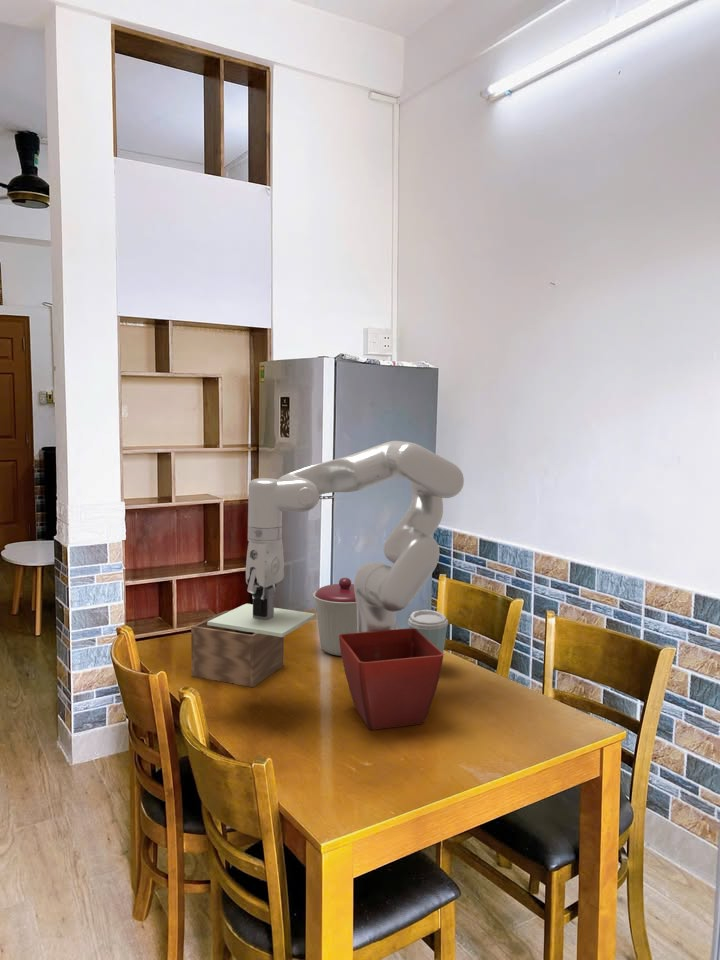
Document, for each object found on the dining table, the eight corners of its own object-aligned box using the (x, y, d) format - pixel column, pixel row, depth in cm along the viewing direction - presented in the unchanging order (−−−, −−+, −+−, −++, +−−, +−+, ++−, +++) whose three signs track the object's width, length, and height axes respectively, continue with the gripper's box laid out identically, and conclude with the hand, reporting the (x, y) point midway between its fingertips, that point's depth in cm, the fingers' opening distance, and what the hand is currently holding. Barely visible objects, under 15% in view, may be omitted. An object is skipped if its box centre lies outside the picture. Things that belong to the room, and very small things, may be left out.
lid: (315, 617, 168) (316, 584, 167) (282, 637, 152) (283, 601, 152) (246, 606, 174) (246, 575, 174) (207, 625, 159) (207, 590, 158)
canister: (379, 642, 214) (380, 572, 211) (371, 663, 196) (372, 587, 194) (319, 638, 216) (320, 569, 214) (306, 659, 198) (306, 584, 196)
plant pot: (358, 739, 152) (359, 661, 150) (336, 703, 170) (337, 633, 168) (443, 729, 157) (445, 654, 155) (413, 695, 175) (415, 627, 173)
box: (283, 665, 193) (283, 618, 192) (253, 687, 178) (253, 636, 177) (225, 656, 200) (225, 610, 198) (191, 676, 185) (191, 626, 184)
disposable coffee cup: (455, 673, 189) (456, 617, 188) (419, 679, 185) (420, 622, 183) (433, 660, 199) (435, 607, 197) (399, 666, 194) (400, 611, 193)
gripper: (261, 541, 153) (260, 626, 154) (296, 530, 167) (294, 607, 169) (231, 537, 155) (230, 621, 157) (267, 527, 170) (266, 603, 172)
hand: (263, 613), depth 163 cm, fingers closed on lid, 2 cm apart
